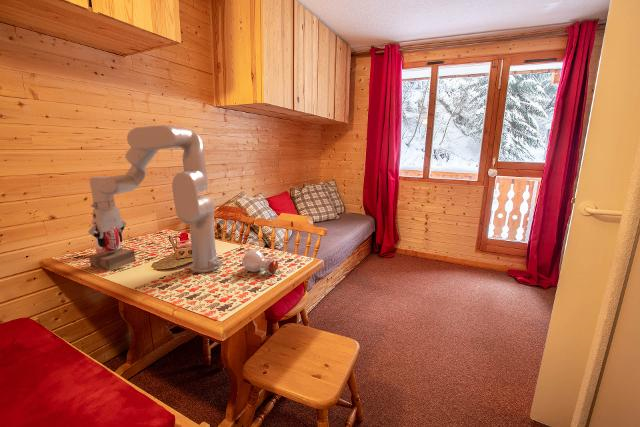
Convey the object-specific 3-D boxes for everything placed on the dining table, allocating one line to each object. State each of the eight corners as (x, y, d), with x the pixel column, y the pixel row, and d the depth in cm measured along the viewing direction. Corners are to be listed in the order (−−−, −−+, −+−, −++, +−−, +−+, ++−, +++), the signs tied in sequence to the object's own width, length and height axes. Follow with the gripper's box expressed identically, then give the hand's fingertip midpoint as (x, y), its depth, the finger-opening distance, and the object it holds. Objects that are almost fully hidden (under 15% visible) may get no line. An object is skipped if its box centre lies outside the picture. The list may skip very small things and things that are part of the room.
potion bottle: (245, 270, 130) (275, 280, 125) (234, 265, 122) (265, 275, 116) (253, 251, 133) (282, 259, 128) (243, 244, 124) (273, 253, 119)
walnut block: (135, 260, 138) (134, 250, 137) (109, 270, 127) (108, 259, 126) (117, 257, 142) (115, 247, 141) (91, 266, 131) (89, 256, 130)
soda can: (125, 248, 137) (121, 222, 134) (113, 253, 130) (108, 226, 127) (110, 247, 137) (106, 222, 135) (98, 253, 130) (93, 226, 128)
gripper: (89, 209, 120) (96, 251, 124) (129, 202, 136) (135, 239, 139) (76, 208, 122) (84, 249, 126) (117, 201, 138) (123, 237, 142)
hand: (111, 243), depth 133 cm, fingers closed on soda can, 6 cm apart
